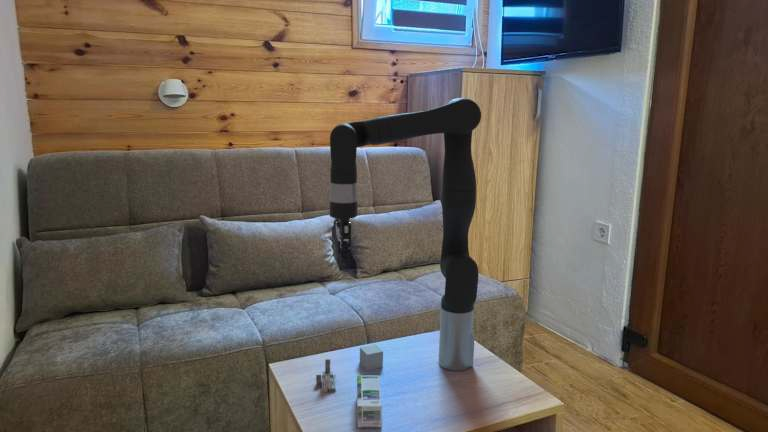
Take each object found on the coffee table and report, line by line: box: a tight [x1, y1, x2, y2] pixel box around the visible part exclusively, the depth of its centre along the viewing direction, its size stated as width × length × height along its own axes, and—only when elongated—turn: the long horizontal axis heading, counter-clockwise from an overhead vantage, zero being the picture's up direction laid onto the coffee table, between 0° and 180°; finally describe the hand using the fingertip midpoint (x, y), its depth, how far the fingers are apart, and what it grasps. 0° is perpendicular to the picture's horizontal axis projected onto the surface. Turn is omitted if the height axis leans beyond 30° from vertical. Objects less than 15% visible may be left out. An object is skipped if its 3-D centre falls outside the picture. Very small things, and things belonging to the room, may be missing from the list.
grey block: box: [359, 344, 384, 371], centre depth 153 cm, size 5×5×5 cm
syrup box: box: [356, 375, 383, 428], centre depth 130 cm, size 6×6×14 cm
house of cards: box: [315, 358, 337, 393], centre depth 143 cm, size 9×9×8 cm
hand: (343, 257), depth 147 cm, fingers open, 8 cm apart
